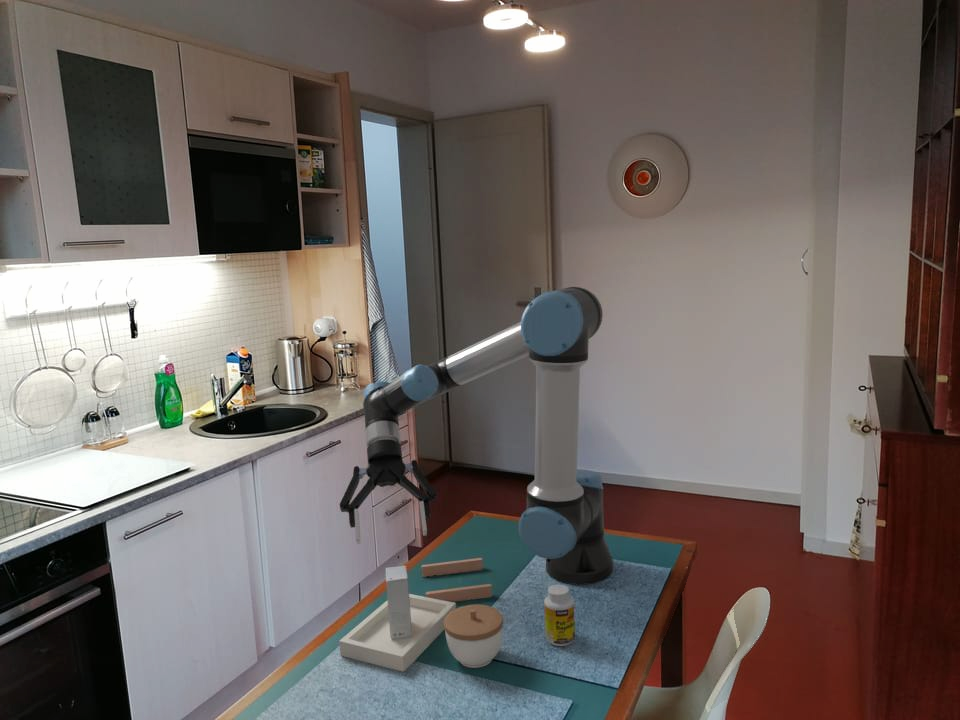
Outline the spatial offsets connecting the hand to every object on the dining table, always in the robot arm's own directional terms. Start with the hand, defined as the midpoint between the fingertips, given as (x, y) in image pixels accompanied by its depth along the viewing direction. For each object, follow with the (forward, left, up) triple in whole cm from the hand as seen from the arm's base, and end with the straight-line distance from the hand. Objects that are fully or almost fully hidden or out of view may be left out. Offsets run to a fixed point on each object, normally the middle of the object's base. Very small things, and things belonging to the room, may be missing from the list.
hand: (391, 537), depth 145 cm
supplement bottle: (-33, -11, -17) cm, 39 cm away
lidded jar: (-24, +3, -17) cm, 30 cm away
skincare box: (-7, +6, -16) cm, 18 cm away
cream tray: (-7, +6, -16) cm, 19 cm away
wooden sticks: (-2, -15, -16) cm, 23 cm away
